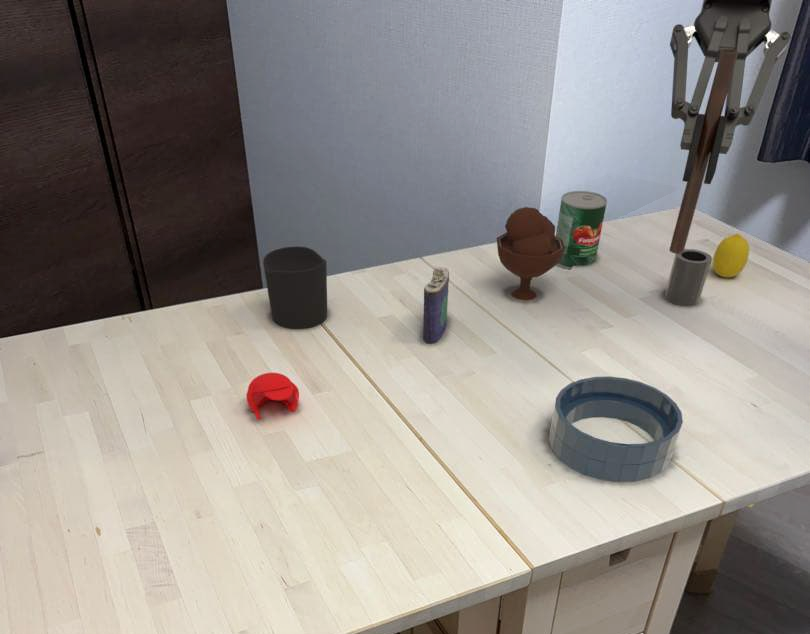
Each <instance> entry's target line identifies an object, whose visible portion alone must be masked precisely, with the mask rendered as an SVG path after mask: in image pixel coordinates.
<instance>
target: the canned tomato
mask: <svg viewBox="0 0 810 634" xmlns="http://www.w3.org/2000/svg"><path fill="white" fill-rule="evenodd" d="M560 199H561V200H560V206H559V213H558V219H557V226H556V230H555V236H556V237H558V238H560V239H562V240H563V243H564V247H565V250H564V252H563V255H562V258H561V259H560V261H559V262H558V264H557V265H556V266H557V267H559V268H562V269H566V270H572V269H573V267H584V266H589V265H592V264H593V263H595V262H596V260H597V255H598V250H599V244H600V239H601V235H602V234H601V233H602V231H603V230H602V229H603V225H604V219H605V214H606V209H607V204H608V199H607V198H606V196H604V195H602V194H600V193H598V192H593V191H587V190H574V191H568V192H566V193H564V194H562V195H561V198H560Z"/></svg>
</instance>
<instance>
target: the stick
mask: <svg viewBox="0 0 810 634" xmlns="http://www.w3.org/2000/svg"><path fill="white" fill-rule="evenodd" d="M737 55H738V51H736V50H730V49H724V50H721V53H720V57H719V61H718V62H717V66H716V70H715V73H714V77H713V80H712V84H711V88H710V92H709V95H708V99H707V102H706V103H707V104H706V108H705V111H704V114H705V118H704V122H703V127H702V131H701V136H700V140H699V145H698V149H697V154H696V158H695V163H694V167H693V171H692V174H691V177H690V180H689V182H686V184H685V188H684V192H683V196H682V200H681V204H680V207H679V211H678V215H677V218H676V223H675V227H674V231H673V234H672V238H671V242H670V246H669V249H668V250H669V252H670V253H672V254H674V255H675V254H681V253H683V252H684V249H686V245H687V242H688V238H689V234H690V230H691V226H692V223H693V220H694V216H695V213H696V209H697V204H698V201H699V198H700V194H701V190H702V186H703V184H704V180H705V175H706V171H707V166H708V162H709V157H710V153H711V149H712V145H713V142H714V138H715V134H716V131H717V127H718V123H719V120H720V116H722V114H723V110H724V107H725V104H726V99H727V92H728V88H729V85H730V81H731V77H732V74H733V70H734V66H735V63H736V59H737Z"/></svg>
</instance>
